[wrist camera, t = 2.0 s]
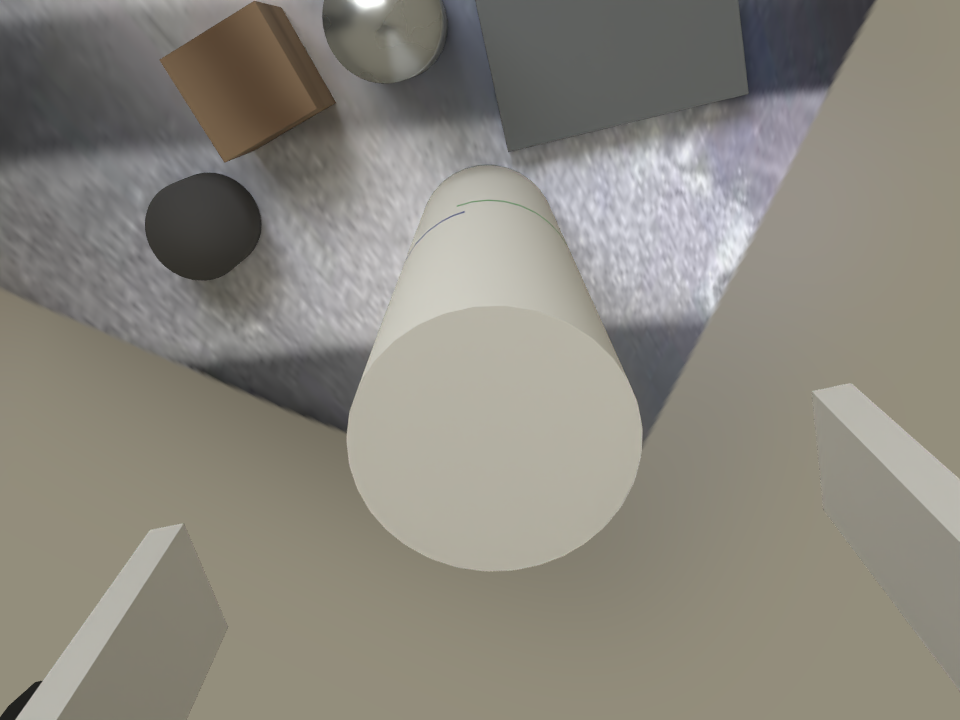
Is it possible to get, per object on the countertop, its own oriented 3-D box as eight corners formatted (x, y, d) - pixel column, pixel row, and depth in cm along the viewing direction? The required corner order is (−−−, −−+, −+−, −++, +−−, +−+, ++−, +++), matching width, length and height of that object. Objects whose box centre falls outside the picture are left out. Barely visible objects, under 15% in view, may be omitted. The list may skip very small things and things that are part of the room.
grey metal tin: (361, 90, 40) (342, 95, 35) (332, -17, 38) (306, -29, 33) (458, 65, 40) (454, 67, 34) (433, -44, 38) (424, -61, 32)
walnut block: (253, 150, 41) (224, 162, 37) (197, 59, 40) (159, 59, 35) (336, 102, 40) (317, 108, 36) (281, 7, 39) (254, 0, 34)
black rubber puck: (187, 275, 44) (166, 290, 41) (153, 185, 42) (129, 194, 39) (274, 254, 43) (260, 268, 40) (243, 162, 42) (226, 170, 39)
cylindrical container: (395, 208, 42) (288, 396, 19) (513, 138, 41) (556, 248, 18) (463, 320, 44) (442, 613, 21) (577, 257, 43) (691, 495, 20)
